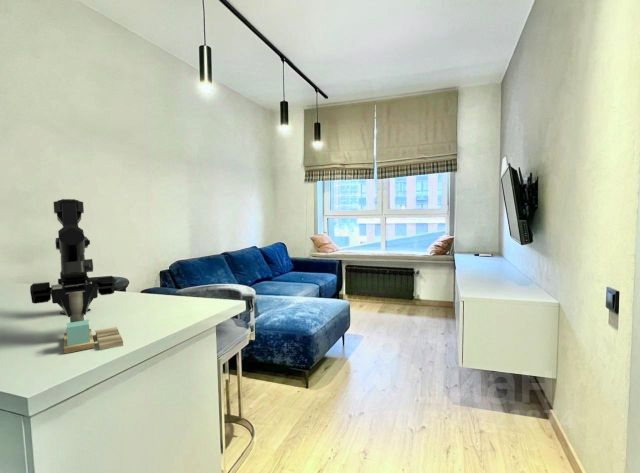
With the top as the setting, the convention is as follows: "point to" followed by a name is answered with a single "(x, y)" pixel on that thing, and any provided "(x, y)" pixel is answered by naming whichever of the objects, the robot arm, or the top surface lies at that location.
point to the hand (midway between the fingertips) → (76, 315)
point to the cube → (78, 332)
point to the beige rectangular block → (109, 338)
